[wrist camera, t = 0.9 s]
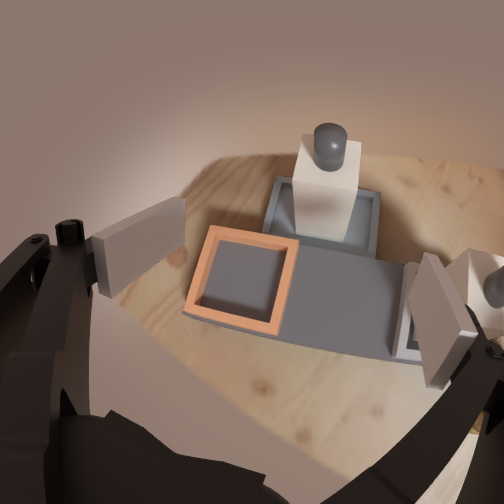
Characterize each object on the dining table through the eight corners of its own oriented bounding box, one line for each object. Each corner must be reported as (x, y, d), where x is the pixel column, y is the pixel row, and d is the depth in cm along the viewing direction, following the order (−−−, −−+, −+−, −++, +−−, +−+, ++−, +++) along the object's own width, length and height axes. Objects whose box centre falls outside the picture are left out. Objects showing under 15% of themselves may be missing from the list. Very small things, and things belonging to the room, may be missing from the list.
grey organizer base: (467, 287, 26) (487, 275, 22) (458, 369, 24) (480, 368, 20) (216, 239, 33) (204, 221, 29) (192, 318, 31) (175, 310, 26)
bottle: (348, 202, 32) (365, 117, 20) (342, 243, 30) (363, 167, 18) (304, 194, 33) (301, 107, 21) (296, 234, 31) (289, 155, 19)
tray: (378, 199, 32) (380, 193, 31) (372, 264, 29) (374, 260, 28) (277, 182, 35) (276, 175, 34) (261, 243, 32) (259, 238, 31)
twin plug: (461, 295, 24) (542, 245, 12) (456, 346, 22) (546, 323, 10) (418, 287, 25) (490, 228, 13) (412, 340, 23) (491, 315, 11)
